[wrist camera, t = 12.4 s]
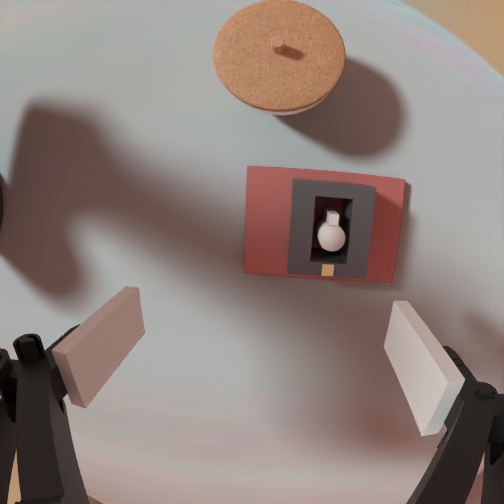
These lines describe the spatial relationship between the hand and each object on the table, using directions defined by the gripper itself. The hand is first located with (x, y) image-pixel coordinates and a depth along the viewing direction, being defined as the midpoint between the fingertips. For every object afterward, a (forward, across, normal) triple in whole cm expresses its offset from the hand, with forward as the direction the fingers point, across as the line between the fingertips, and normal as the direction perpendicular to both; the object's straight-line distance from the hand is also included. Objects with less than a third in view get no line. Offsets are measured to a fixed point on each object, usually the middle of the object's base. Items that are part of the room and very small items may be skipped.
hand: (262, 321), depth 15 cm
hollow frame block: (+17, +5, +2) cm, 18 cm away
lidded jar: (+18, 0, +17) cm, 25 cm away
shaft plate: (+18, +5, +2) cm, 19 cm away
